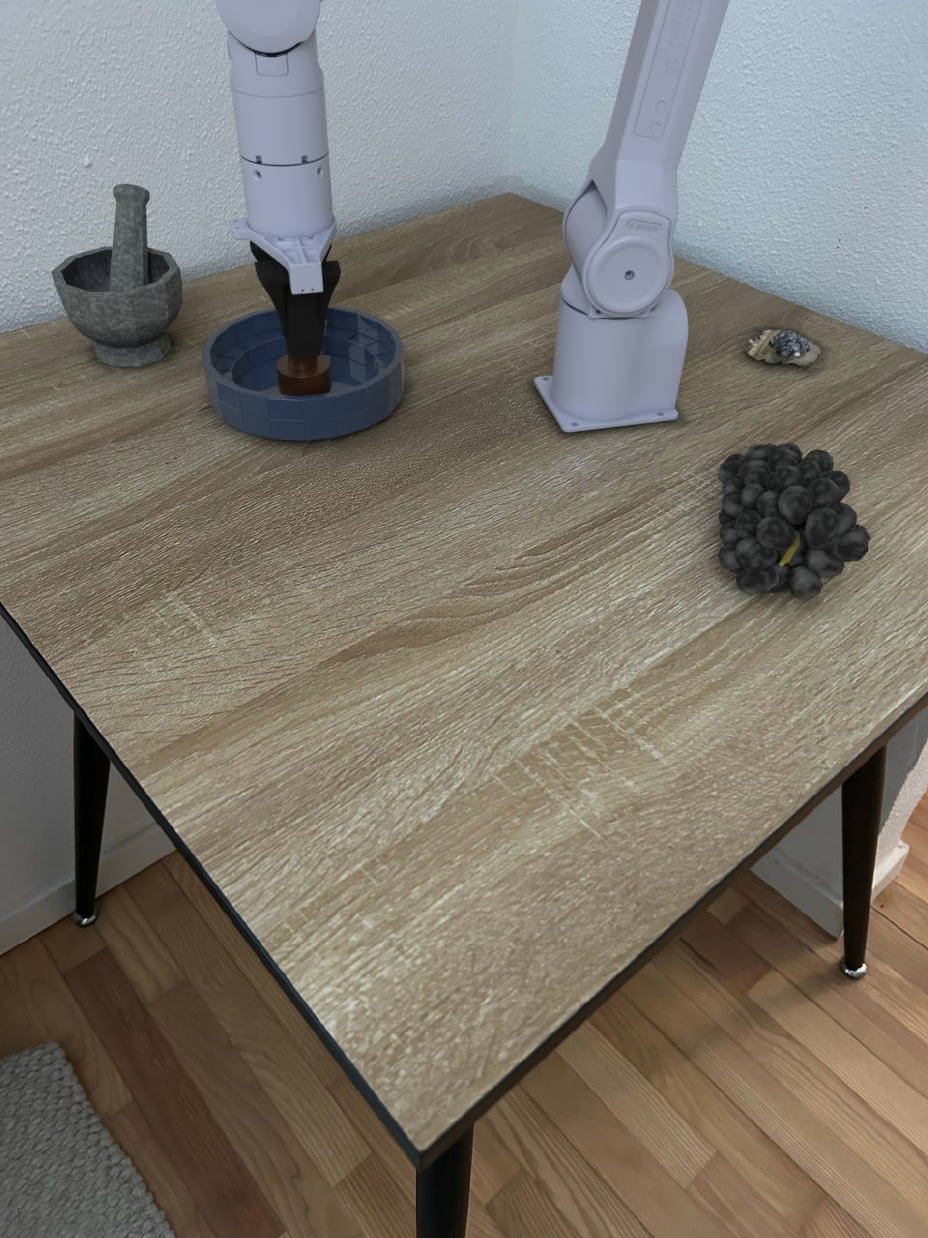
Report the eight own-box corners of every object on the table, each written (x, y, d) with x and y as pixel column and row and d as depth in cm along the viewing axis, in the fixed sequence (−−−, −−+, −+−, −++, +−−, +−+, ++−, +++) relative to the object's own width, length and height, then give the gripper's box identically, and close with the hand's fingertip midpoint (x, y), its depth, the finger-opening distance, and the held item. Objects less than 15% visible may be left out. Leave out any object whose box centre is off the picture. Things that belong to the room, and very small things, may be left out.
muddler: (327, 371, 76) (318, 258, 70) (335, 397, 73) (326, 282, 67) (275, 377, 75) (262, 263, 69) (282, 403, 73) (268, 287, 66)
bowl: (384, 341, 84) (382, 296, 82) (422, 434, 74) (422, 387, 71) (204, 358, 81) (196, 312, 79) (217, 458, 71) (209, 409, 68)
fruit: (745, 364, 64) (785, 493, 53) (854, 407, 65) (916, 542, 54) (680, 467, 70) (704, 604, 58) (782, 505, 71) (825, 646, 60)
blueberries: (743, 368, 82) (748, 348, 81) (739, 326, 88) (743, 306, 87) (825, 377, 82) (831, 356, 80) (815, 333, 88) (821, 313, 86)
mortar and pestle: (163, 384, 78) (132, 234, 70) (53, 371, 79) (10, 221, 71) (213, 321, 86) (191, 180, 78) (113, 310, 87) (81, 170, 79)
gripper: (213, 120, 67) (239, 307, 76) (230, 195, 57) (258, 401, 66) (315, 115, 69) (329, 299, 78) (350, 187, 58) (360, 390, 68)
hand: (302, 346), depth 72 cm, fingers closed on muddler, 2 cm apart
